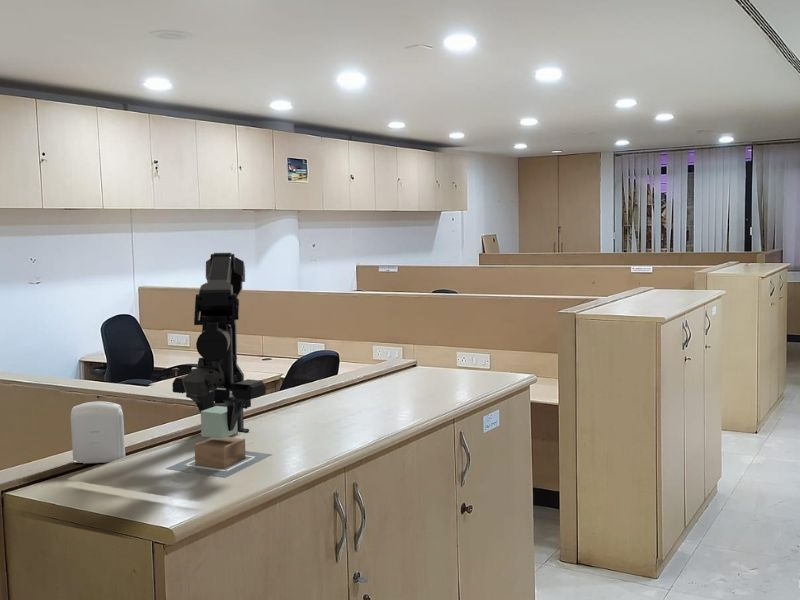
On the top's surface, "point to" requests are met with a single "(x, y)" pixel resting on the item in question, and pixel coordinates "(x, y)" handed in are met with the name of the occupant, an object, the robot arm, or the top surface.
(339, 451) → the top surface
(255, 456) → the board
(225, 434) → the sage cube
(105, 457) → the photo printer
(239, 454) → the walnut block
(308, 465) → the top surface
